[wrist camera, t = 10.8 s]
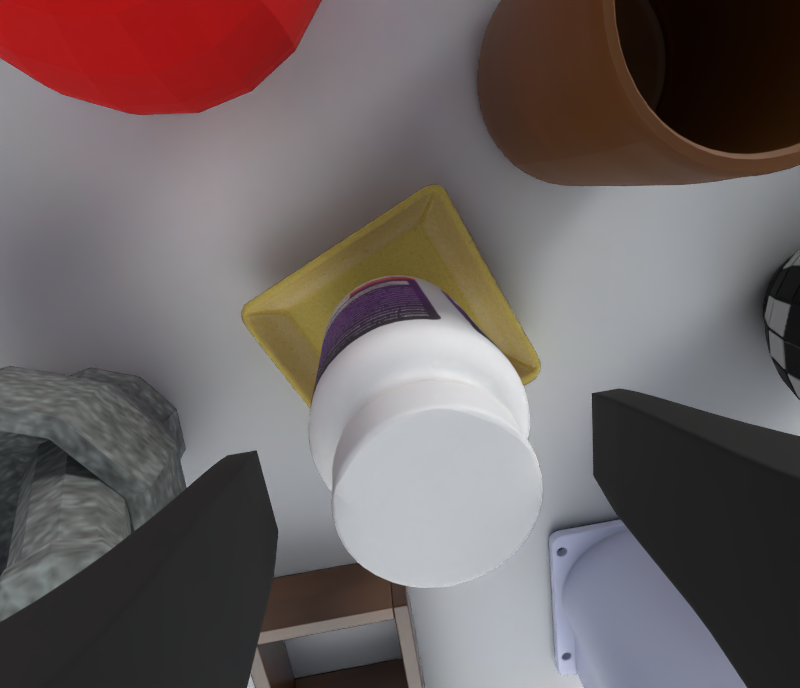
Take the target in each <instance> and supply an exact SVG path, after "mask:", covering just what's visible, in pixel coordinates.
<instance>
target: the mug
mask: <svg viewBox="0 0 800 688" xmlns="http://www.w3.org/2000/svg"><path fill="white" fill-rule="evenodd" d="M477 80H478V96H479V102H480V108H481V111H482V115H483V119H484V122H485V124H486V126H487V129H488V131H489V133H490V135H491V137H492V139H493V140H494V142H495V144H496V145H497V147H498V148H499V149H500V150H501V152H502V153H503V154H504V155H505V156H506V157H507V158H508V159H509V160H510V161H511V162H512V163H513V164H514V165H515V166H517V167H518V168H520V169H521V170H522V171H524V172H525V173H527V174H529V175H531V176H533V177H535V178H537V179H540V180H543V181H545V182H548V183H554V184H559V185H566V186H645V185H684V184H697V183H707V182H716V181H722V180H728V179H734V178H739V177H748V176H758V175H764V174H769V173H774V172H778V171H782V170H786V169H790V168H792V167H795V166H798V165H800V0H501V1H500V3H499V4H498V6H497V8H496V10H495V11H494V13H493V15H492V18H491V20H490V22H489V25H488V27H487V29H486V33H485V36H484V39H483V42H482V47H481V52H480V57H479V63H478V76H477Z"/></svg>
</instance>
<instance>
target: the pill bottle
mask: <svg viewBox="0 0 800 688" xmlns="http://www.w3.org/2000/svg"><path fill="white" fill-rule="evenodd" d="M529 430H530V415H529V405H528V400H527V396H526V392H525V389H524V387H523V384H522V382H521V380H520V377H519V376H518V374H517V372H516V370H515V369H514V367H513V366H512V364H511V363H510V362H509V360H508V359H507V358H506V356H505V355H504V354H503V353H502V351H501V350H500V349H499V348H498V347H497V346H496V345H495V344H494V343H493V342H492V341H491V340H490V339H489V337H488V336H487V335H486V334H485V333H484V332H483V331H482V330H481V329H480V327H479V326H478V325H477V324H476V323H475V322H474V321H473V320H472V319H471V318H470V317H469V316H468V314H467V313H466V312H465V311H464V310H463V309H462V308H461V307H460V306H459V304H458V303H456V302H455V300H454V299H453V298H451V297H450V296H449V295H448V294H447V293H446V292H444V291H443V290H442V289H440V288H439V287H437V286H436V285H434V284H432V283H430V282H428V281H426V280H423V279H420V278H416V277H411V276H403V275H393V276H384V277H380V278H376V279H373V280H370V281H368V282H365V283H363V284H362V285H360V286H358V287H357V288H355V289H354V290H352V291H351V292H350V293H349V294H347V295H346V296H345V297H344V298H343V299H342V301H341V302H340V303H339V304H338V305H337V307H336V308H335V310H334V312H333V313H332V315H331V317H330V319H329V322H328V324H327V327H326V330H325V334H324V338H323V343H322V349H321V355H320V360H319V366H318V371H317V376H316V381H315V386H314V391H313V395H312V400H311V407H310V416H309V442H310V448H311V452H312V456H313V459H314V462H315V465H316V467H317V470H318V472H319V474H320V475H321V477H322V479H323V481H324V482H325V484H326V485H327V487H328V488H329V489H330V491H331V492H332V512H333V519H334V523H335V527H336V530H337V533H338V535H339V537H340V540H341V541H342V543H343V545H344V546H345V548H346V549H347V551H348V552H349V553H350V555H351V556H352V557H353V558H354V559H355V560H356V561H357V562H358V563H359V564H360V565H362V566H363V567H364V568H366V569H367V570H369V571H370V572H372V573H373V574H375V575H377V576H379V577H381V578H384V579H386V580H388V581H391V582H393V583H397V584H400V585H405V586H410V587H417V588H437V587H446V586H453V585H456V584H460V583H464V582H468V581H470V580H473V579H476V578H478V577H481V576H482V575H484V574H486V573H488V572H490V571H492V570H494V569H496V568H497V567H498V566H500V565H501V564H502V563H503V562H505V561H506V560H507V559H508V558H510V557H511V556H512V555H513V554H514V553H515V552H516V551H517V550H518V549H519V548H520V546H521V545H522V544H523V543H524V541H525V540H526V539H527V537H528V536H529V534H530V532H531V531H532V529H533V527H534V525H535V522H536V520H537V518H538V514H539V512H540V508H541V503H542V498H543V481H542V474H541V470H540V466H539V462H538V460H537V457H536V455H535V452H534V450H533V449H532V447H531V445H530V444H529V442H528V436H529Z"/></svg>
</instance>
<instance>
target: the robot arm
mask: <svg viewBox="0 0 800 688" xmlns="http://www.w3.org/2000/svg"><path fill="white" fill-rule="evenodd" d="M592 424H593V476H594V477H595V479H596V481H597V482H598V484H599V486H600V488H601V489H602V491H603V493H604V495H605V496H606V498H607V500H608V501H609V503H610V504H611V506H612V508H613V509H614V511H615V512H616V514H617V515H618V517H619V518H620V520H614V521H609V522H603V523H598V524H592V525H587V526H581V527H576V528H570V529H565V530H559V531H556V532H554V533H553V534H551V536H550V538H549V551H550V570H551V588H552V607H553V625H554V644H555V662H556V668H557V670H558V673H559V674H560V675H563V676H569V675H574V674H578V676H579V678H580V680H581V682H582V684H583V687H584V688H800V436H796V435H792V434H788V433H784V432H780V431H776V430H772V429H768V428H764V427H760V426H756V425H752V424H748V423H744V422H741V421H737V420H733V419H730V418H726V417H723V416H719V415H716V414H712V413H709V412H705V411H702V410H699V409H695V408H692V407H688V406H685V405H682V404H678V403H675V402H672V401H668V400H665V399H661V398H658V397H654V396H651V395H647V394H643V393H639V392H635V391H631V390H625V389H615V390H609V391H603V392H597V393H592ZM277 540H278V528H277V525H276V521H275V517H274V513H273V510H272V506H271V502H270V499H269V495H268V491H267V487H266V484H265V480H264V476H263V473H262V469H261V465H260V462H259V458H258V454H257V451H251V452H245V453H239V454H234V455H228V456H226V457H225V458H223V459H222V460H220V461H219V462H217V463H216V464H215V465H214V466H212V467H211V468H210V469H209V470H208V471H206V472H205V473H204V474H203V475H202V476H200V477H199V478H198V479H197V480H196V481H194V482H193V483H192V484H191V485H190V486H189V487H187V488H186V489H185V490H184V491H183V492H182V493H180V494H179V495H178V496H177V497H176V498H174V499H173V500H172V501H171V502H170V503H169V504H167V505H166V506H165V507H164V508H163V509H161V510H160V511H159V512H158V513H157V514H155V515H154V516H153V517H152V518H150V519H149V520H148V521H147V522H145V523H144V524H143V525H141V526H140V527H139V528H138V529H136V530H135V531H134V532H133V533H131V534H130V535H129V536H127V537H126V538H125V539H124V540H122V541H121V542H120V543H119V544H117V545H116V546H115V547H114V548H112V549H111V550H110V551H108V552H107V553H105V554H104V555H103V556H101V557H100V558H99V559H97V560H96V561H94V562H93V563H92V564H90V565H89V566H87V567H86V568H85V569H83V570H82V571H80V572H79V573H77V574H76V575H74V576H73V577H71V578H70V579H68V580H67V581H65V582H64V583H62V584H61V585H59V586H58V587H56V588H55V589H53V590H52V591H50V592H49V593H47V594H46V595H44V596H43V597H41V598H40V599H38V600H36V601H35V602H33V603H31V604H30V605H28V606H26V607H25V608H23V609H21V610H20V611H18V612H16V613H15V614H13V615H11V616H10V617H8V618H6V619H5V620H3V621H1V622H0V688H247V685H248V681H249V677H250V673H251V669H252V665H253V661H254V657H255V652H256V648H257V644H258V640H259V636H260V632H261V628H262V624H263V620H264V616H265V612H266V607H267V603H268V599H269V595H270V590H271V586H272V582H273V577H274V569H275V561H276V551H277ZM560 548H563V549H562V550H559V551H557V550H558V549H560Z"/></svg>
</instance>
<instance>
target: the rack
mask: <svg viewBox="0 0 800 688" xmlns="http://www.w3.org/2000/svg"><path fill="white" fill-rule="evenodd" d="M394 618H395V622H396V628H397V633H398V638H399V643H400V649H401V654H402V659H399V660H394V661H389V662H383V663H378V664H373V665H368V666H362V667H357V668H352V669H347V670H341V671H336V672H331V673H326V674H320V675H315V676H310V677H305V678H300V679H296V680H295V679H294V675H293V672H292V668H291V665H290V662H289V658H288V655H287V651H286V648H285V644H284V641H283V640H285V639H291V638H296V637H302V636H307V635H312V634H318V633H323V632H328V631H334V630H339V629H344V628H350V627H355V626H360V625H366V624H371V623H376V622H382V621H387V620H392V619H394ZM251 676H252V679H253V682H254V685H255V688H425V684H424V678H423V672H422V667H421V661H420V655H419V649H418V644H417V638H416V632H415V626H414V621H413V615H412V609H411V603H410V598H409V592H408V586H405V585H400V584H397V583H393V582H391V581H388V580H386V579H384V578H381V577H379V576H377V575H375V574H373V573H372V572H370V571H369V570H367V569H366V568H364V567H363V566H362V565H360V564H359V563H355V564H350V565H344V566H339V567H333V568H328V569H322V570H317V571H311V572H306V573H300V574H295V575H289V576H284V577H278V578H273V582H272V586H271V590H270V595H269V599H268V603H267V607H266V612H265V616H264V620H263V624H262V628H261V632H260V636H259V640H258V644H257V648H256V652H255V657H254V661H253V665H252V669H251Z"/></svg>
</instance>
